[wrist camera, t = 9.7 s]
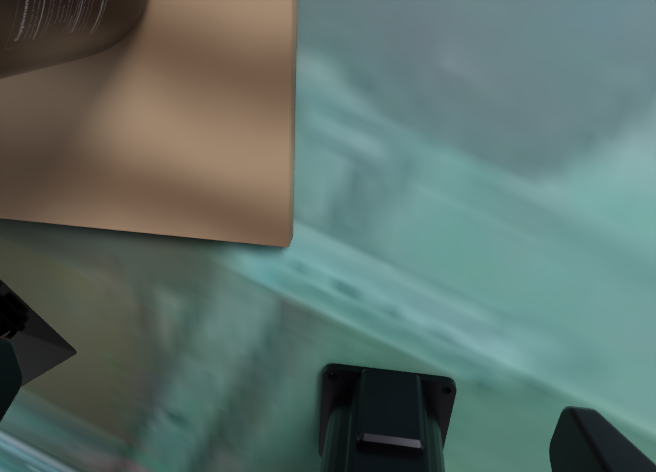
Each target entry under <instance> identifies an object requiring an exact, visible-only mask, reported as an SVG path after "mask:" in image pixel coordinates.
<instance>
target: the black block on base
mask: <svg viewBox="0 0 656 472" xmlns="http://www.w3.org/2000/svg"><path fill="white" fill-rule="evenodd" d="M0 337H4V338H7V339H9V340H10V341H11V342H12V343H13V346H14V349H15V352H16V355H17V358H18V361H19V365H20V368H21V371H22V384H21V386H23V385H24V384H26V383H28V382H30V381H31V380H33V379H35V378H36V377H38V376H40V375H41V374H43V373H45V372H46V371H48V370H50V369H51V368H53V367H55V366H56V365H58V364H60V363H61V362H63V361H65V360H67V359H68V358H70V357H72V356H73V355H75V354H76V353H77V352H76V350H75V349H74V348H73V347H72V346H71V345H69V344H68V343H67V342H66V341H65V340H64V339H63V338H62V337H61V336H60V335H59V334H58V333H57V332H56V331H55V330H54V329H53V328H51V327H50V326H49V325H48V324H47V323H46V322H45V321H44V320H43V319H42V318H41V317H40V316H39V315H38V314H37V313H36V312H34V311H33V310H32V309H31V308H30V307H29V306H28V305H27V304H26V303H25V302H24V301H23V300H22V299H21V298H20V297H19V296H17V295H16V294H15V293H14V292H13V291H12V290H11V289H10V288H9V287H8V286H7V285H6V284H5V283H4V282H3V281H2V280H0Z"/></svg>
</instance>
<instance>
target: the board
mask: <svg viewBox="0 0 656 472" xmlns="http://www.w3.org/2000/svg"><path fill="white" fill-rule="evenodd" d="M296 41H297V0H146V2H145V6H144V8H143V10H142V13H141V15H140V17H139V19H138V20H137V22H136V24H135V25H134V26H133V28H132V29H131V31H130V32H129V33H128V34H127V35H126V36H125V37H124V38H123V39H122V40H121V41H120V42H118V43H117V44H116V45H114V46H113V47H111V48H109V49H107V50H105V51H103V52H101V53H98V54H95V55H92V56H89V57H85V58H82V59H78V60H75V61H71V62H67V63H63V64H59V65H55V66H51V67H47V68H43V69H39V70H35V71H31V72H27V73H23V74H19V75H15V76H11V77H7V78H3V79H0V218H2V219H12V220H22V221H32V222H42V223H52V224H62V225H72V226H82V227H92V228H102V229H112V230H122V231H132V232H141V233H151V234H161V235H171V236H181V237H191V238H201V239H211V240H221V241H231V242H241V243H251V244H261V245H271V246H281V247H289V245H290V242H291V240H292V237H293V202H294V148H295V95H296Z"/></svg>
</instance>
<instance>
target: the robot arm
mask: <svg viewBox="0 0 656 472" xmlns="http://www.w3.org/2000/svg"><path fill="white" fill-rule="evenodd" d="M330 373H335V374H337V375H332V374H330ZM21 384H22V371H21V368H20V365H19V361H18V358H17V355H16V352H15V349H14V346H13V343H12V342H11V341H10V340H9V339H7V338H4V337H0V422H1V420H2V418H3V417H4V415H5V413H6V411H7V410H8V408H9V406H10V405H11V403H12V401H13V400H14V398H15V396H16V395H17V393H18V391H19V389H20V387H21ZM442 387H449V388H445V389H444V388H442ZM455 395H456V384H455V382H454V380H453V379H451V378H449V377H443V376H435V375H427V374H418V373H410V372H401V371H393V370H385V369H376V368H368V367H359V366H351V365H343V364H329V365H327V366H326V367H325V369H324V374H323V386H322V403H321V420H320V437H319V455H320V456H321V457H322V463H321V470H320V472H445V466H444V457H443V448H444V443H445V439H446V435H447V430H448V426H449V422H450V417H451V413H452V409H453V404H454V400H455ZM549 454H550V462H551V468H552V472H656V464H654V463H653V462H652V461H651V460H650V459H649V458H648V457H647V456H646V455H645V454H644V453H642V452H641V451H640V450H639V449H638V448H637V447H636V446H635V445H634V444H633V443H631V442H630V441H629V440H628V439H627V438H626V437H625V436H624V435H623V434H622V433H621V432H619V431H618V430H617V429H616V428H615V427H614V426H613V425H612V424H611V423H610V422H608V421H607V420H606V419H605V418H604V417H603V416H602V415H601V414H600V413H598V412H597V411H596V410H594V409H590V408H583V407H575V406H567V407H565V408H564V409H563V411H562V413H561V415H560V418H559V420H558V423H557V426H556V428H555V431H554V434H553V436H552V439H551V442H550V449H549Z"/></svg>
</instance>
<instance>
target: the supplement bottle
mask: <svg viewBox="0 0 656 472" xmlns="http://www.w3.org/2000/svg"><path fill="white" fill-rule="evenodd" d="M145 2H146V0H0V79H3V78H7V77H11V76H15V75H19V74H23V73H27V72H31V71H35V70H39V69H43V68H47V67H51V66H55V65H59V64H63V63H67V62H71V61H75V60H78V59H82V58H85V57H89V56H92V55H95V54H98V53H101V52H103V51H105V50H107V49H109V48H111V47H113V46H114V45H116V44H117V43H118V42H120V41H121V40H122V39H123V38H124V37H125V36H126V35H127V34H128V33H129V32H130V31H131V29H132V28H133V26H134V25H135V24H136V22H137V20H138V19H139V17H140V15H141V13H142V10H143V8H144V6H145Z"/></svg>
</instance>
